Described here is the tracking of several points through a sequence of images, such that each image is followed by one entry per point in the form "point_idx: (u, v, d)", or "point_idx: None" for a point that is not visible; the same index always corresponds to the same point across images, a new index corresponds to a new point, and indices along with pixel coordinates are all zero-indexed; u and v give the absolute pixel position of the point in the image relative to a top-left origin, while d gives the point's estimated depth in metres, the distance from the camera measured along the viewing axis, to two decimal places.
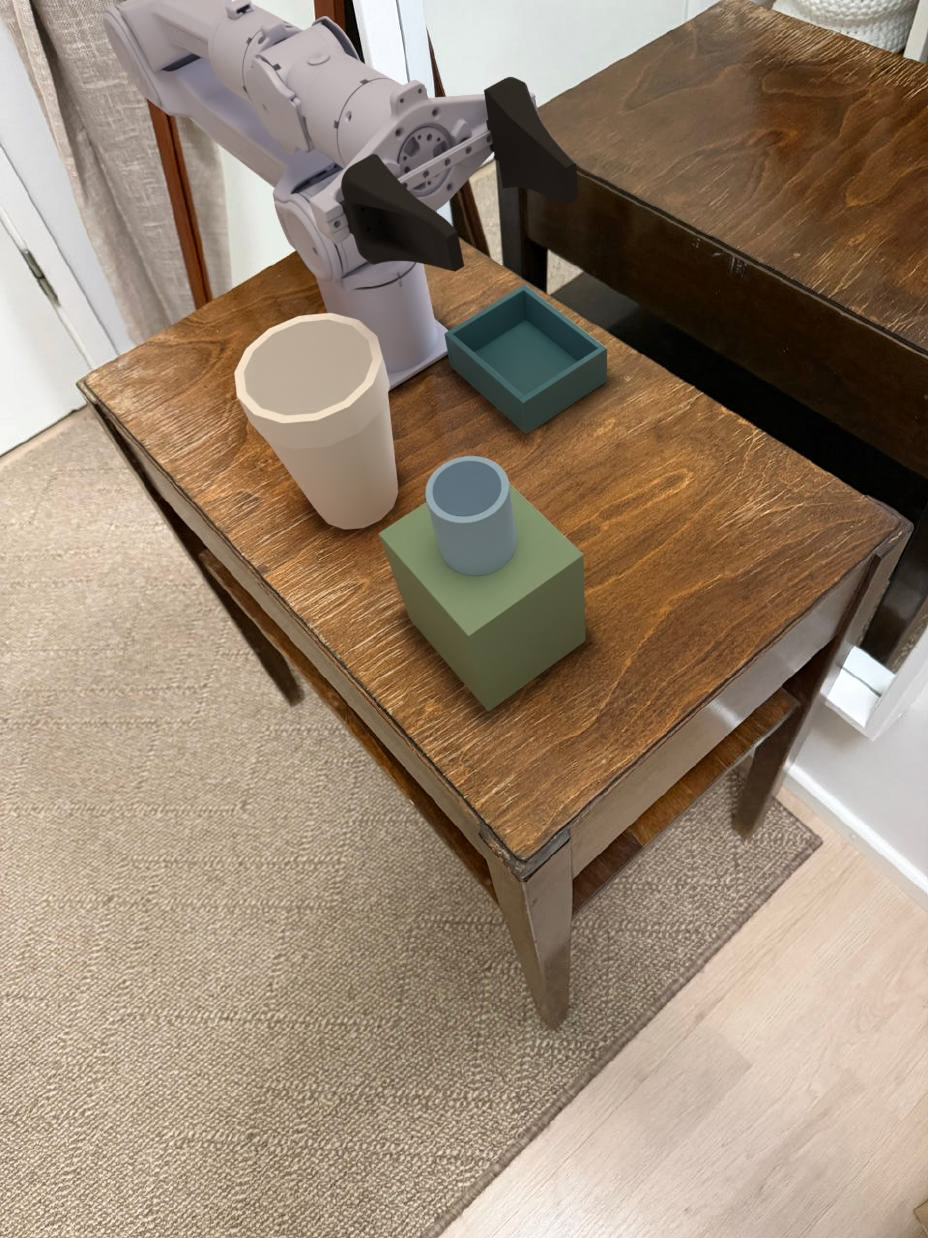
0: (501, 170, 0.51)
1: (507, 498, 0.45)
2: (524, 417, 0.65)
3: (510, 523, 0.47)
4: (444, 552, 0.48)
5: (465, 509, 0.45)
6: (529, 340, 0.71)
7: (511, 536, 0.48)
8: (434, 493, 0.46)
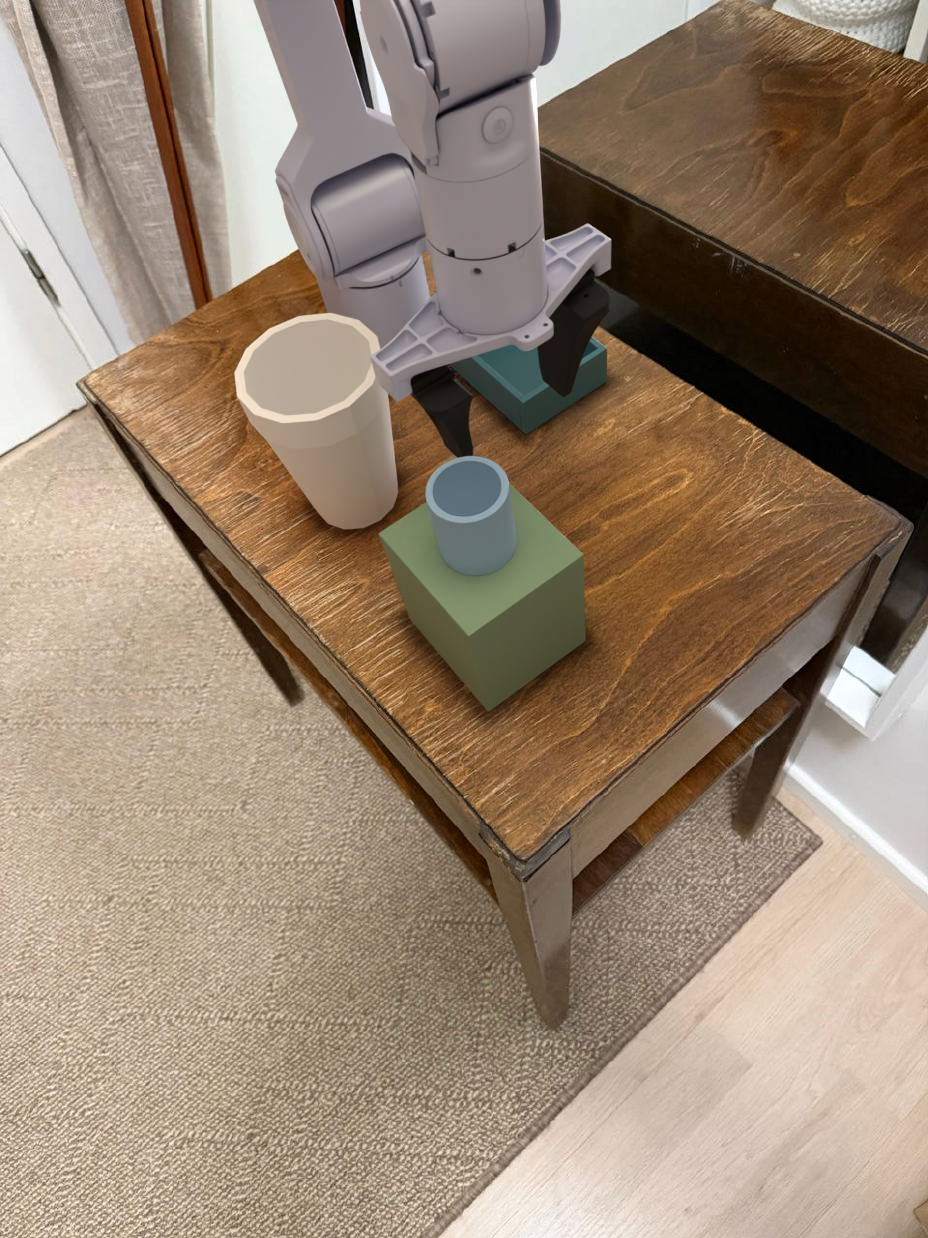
0: None
1: (507, 498, 0.45)
2: (524, 417, 0.65)
3: (510, 523, 0.47)
4: (444, 552, 0.48)
5: (465, 509, 0.45)
6: None
7: (511, 536, 0.48)
8: (434, 493, 0.46)
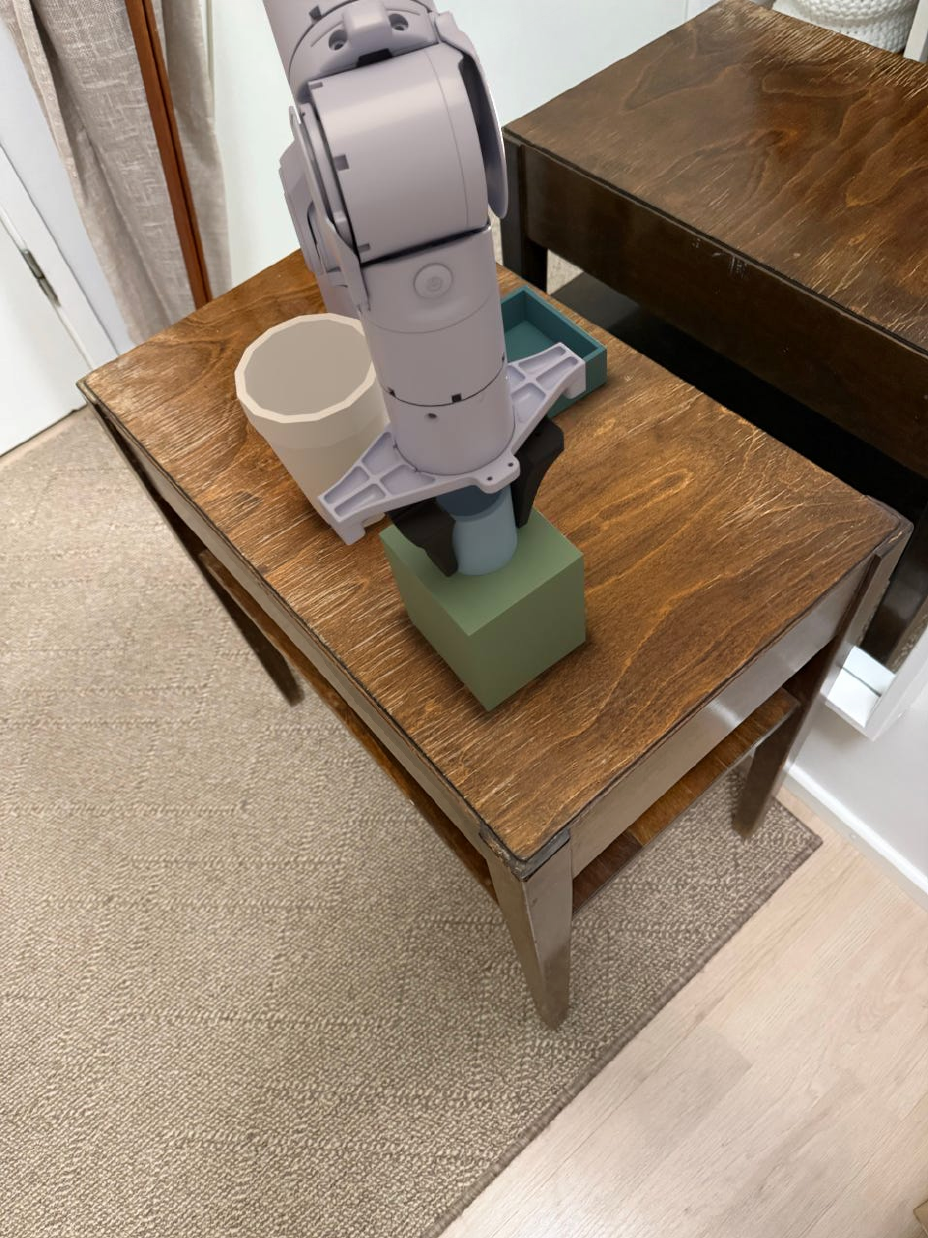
0: None
1: (508, 498, 0.45)
2: None
3: (511, 523, 0.47)
4: None
5: (466, 509, 0.45)
6: (529, 340, 0.71)
7: (512, 536, 0.48)
8: None
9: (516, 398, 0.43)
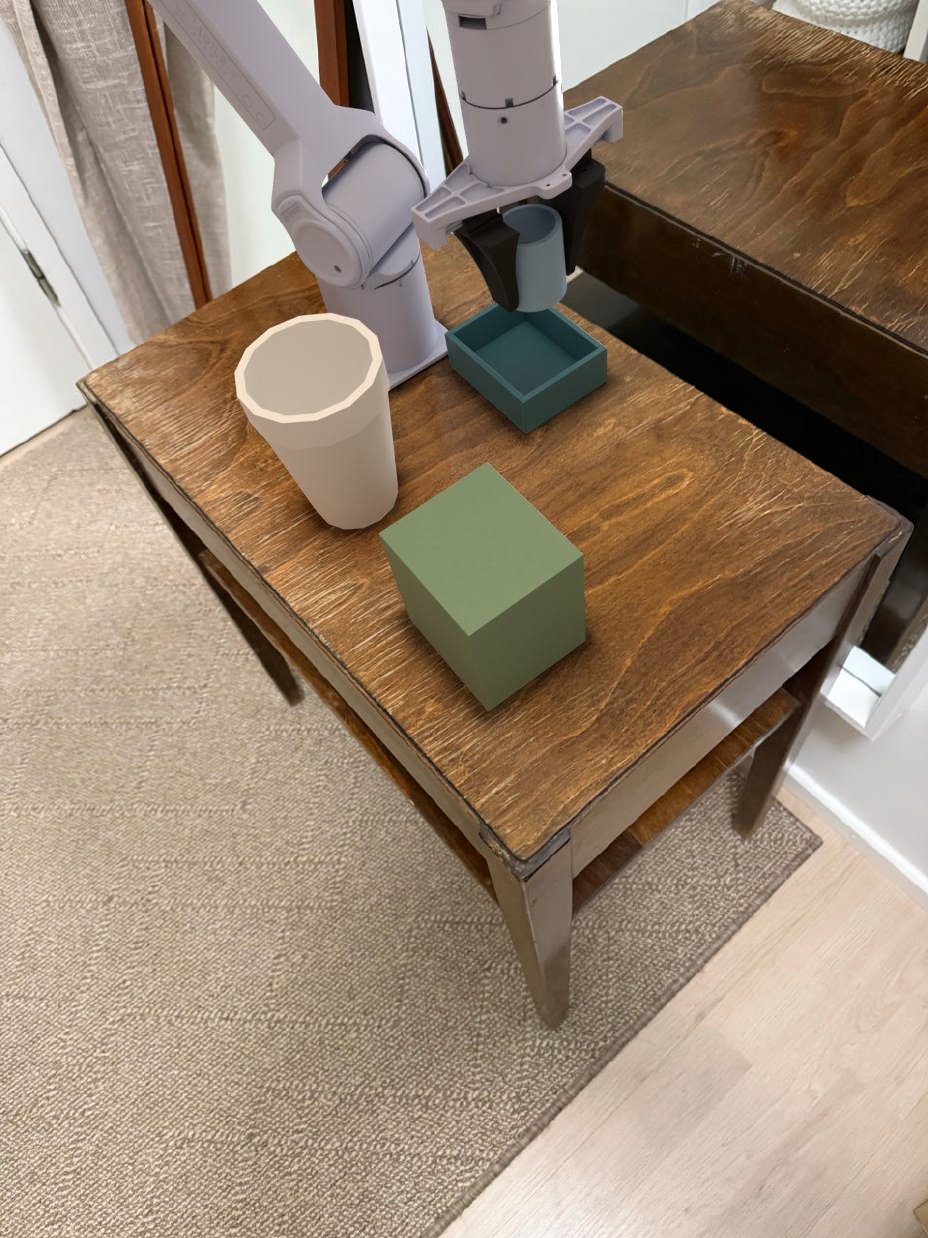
0: None
1: (560, 230, 0.55)
2: (524, 417, 0.65)
3: (562, 259, 0.57)
4: None
5: (526, 238, 0.55)
6: (529, 340, 0.71)
7: (563, 274, 0.58)
8: None
9: (567, 136, 0.53)
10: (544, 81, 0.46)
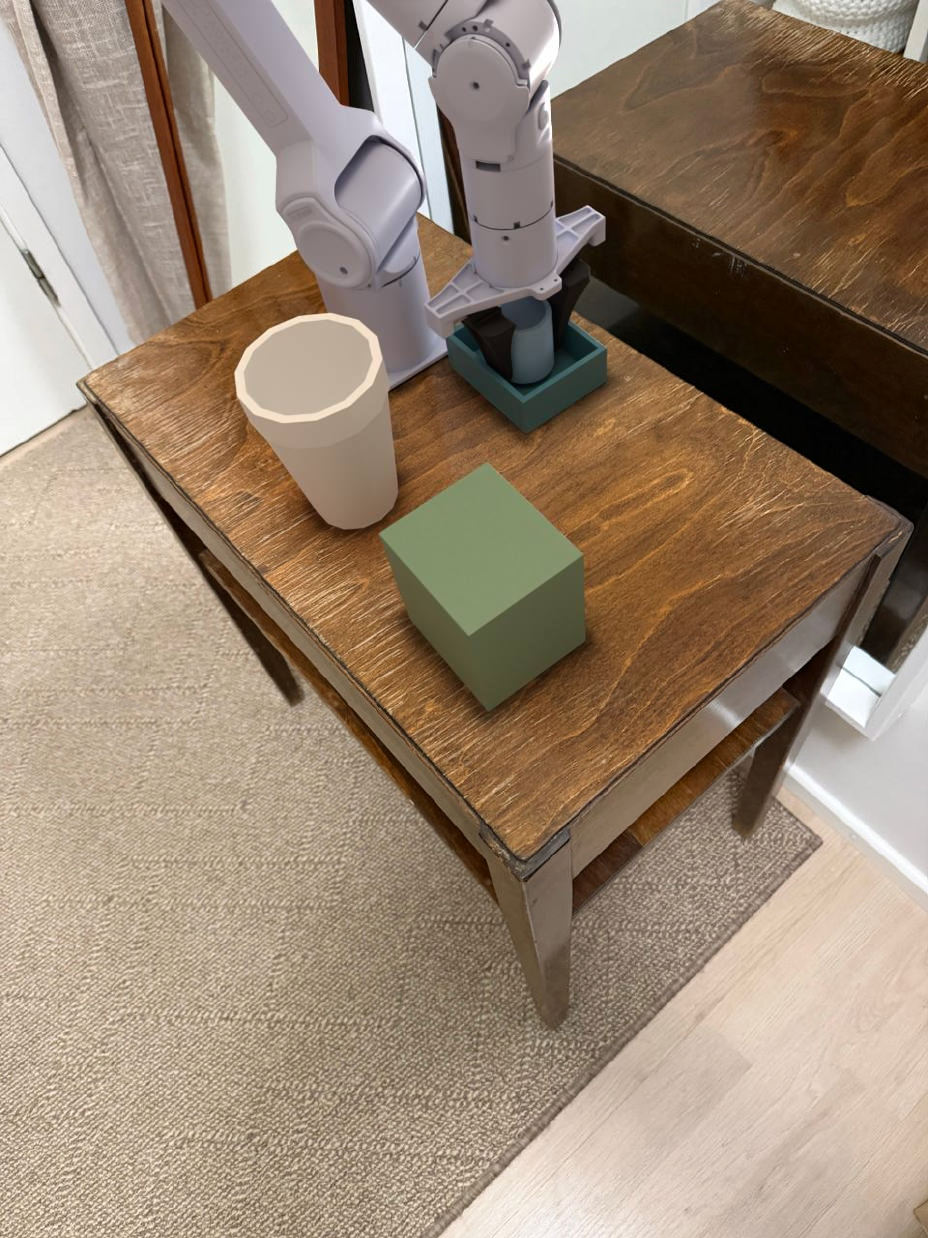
0: None
1: (550, 318, 0.64)
2: (524, 417, 0.65)
3: (551, 341, 0.66)
4: None
5: (521, 325, 0.64)
6: None
7: (551, 352, 0.67)
8: None
9: (557, 241, 0.62)
10: (545, 206, 0.55)
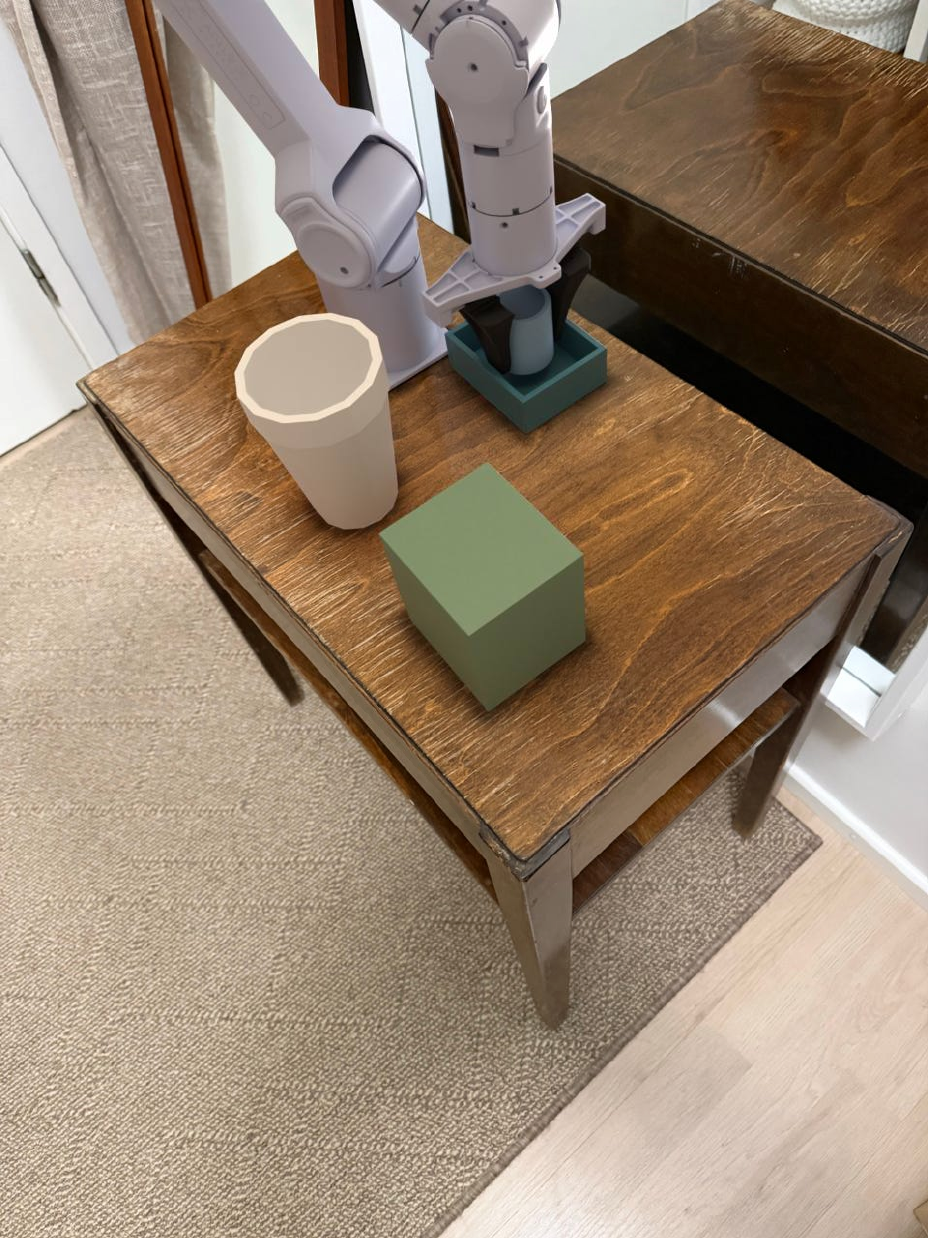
0: None
1: (549, 308, 0.63)
2: (524, 417, 0.65)
3: (550, 331, 0.65)
4: None
5: (519, 315, 0.63)
6: None
7: (550, 343, 0.66)
8: None
9: (557, 229, 0.61)
10: (544, 192, 0.54)
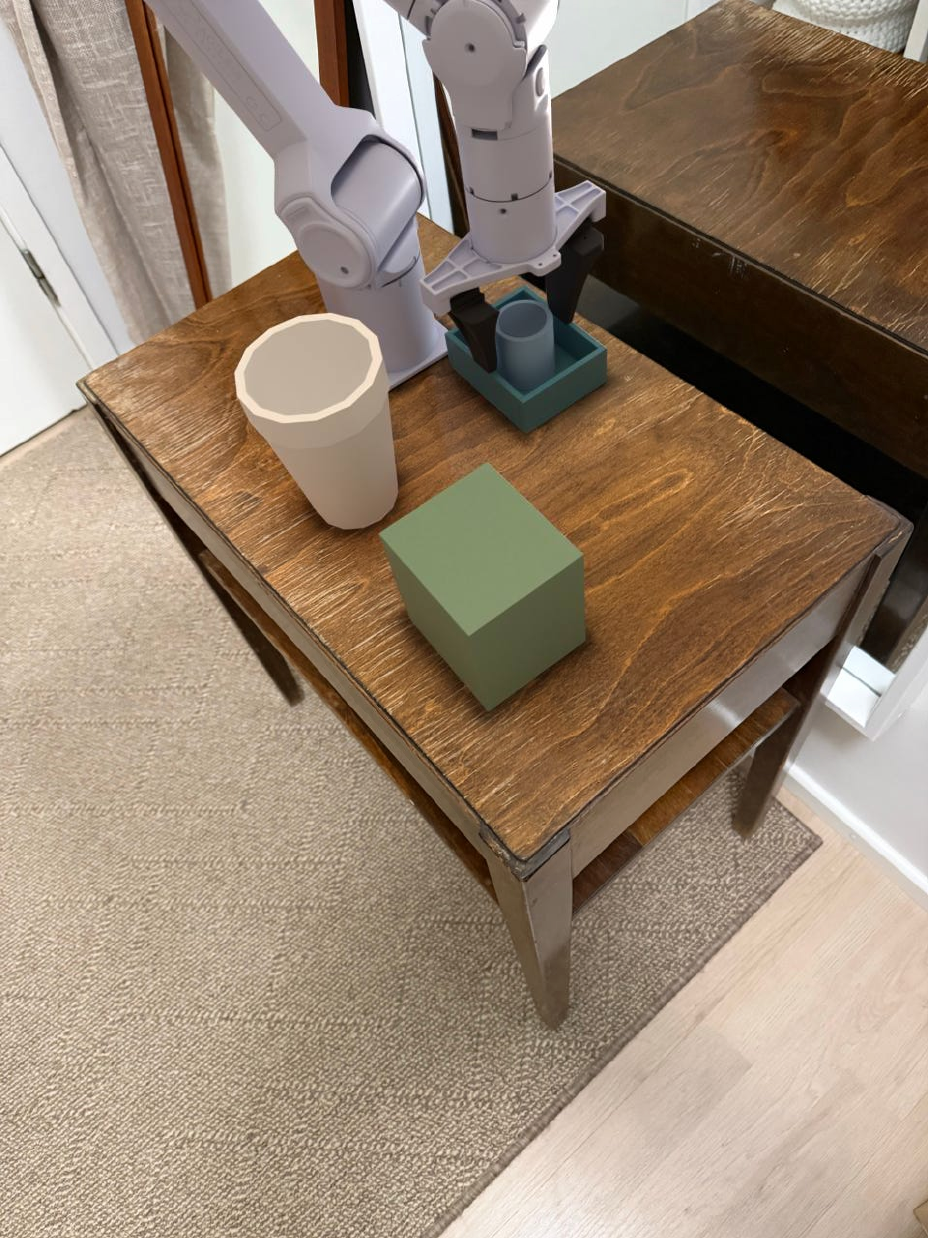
0: None
1: (551, 325, 0.65)
2: (524, 417, 0.65)
3: (552, 348, 0.67)
4: (504, 372, 0.68)
5: (522, 332, 0.65)
6: None
7: (552, 359, 0.67)
8: (500, 323, 0.65)
9: (557, 217, 0.60)
10: (543, 177, 0.54)
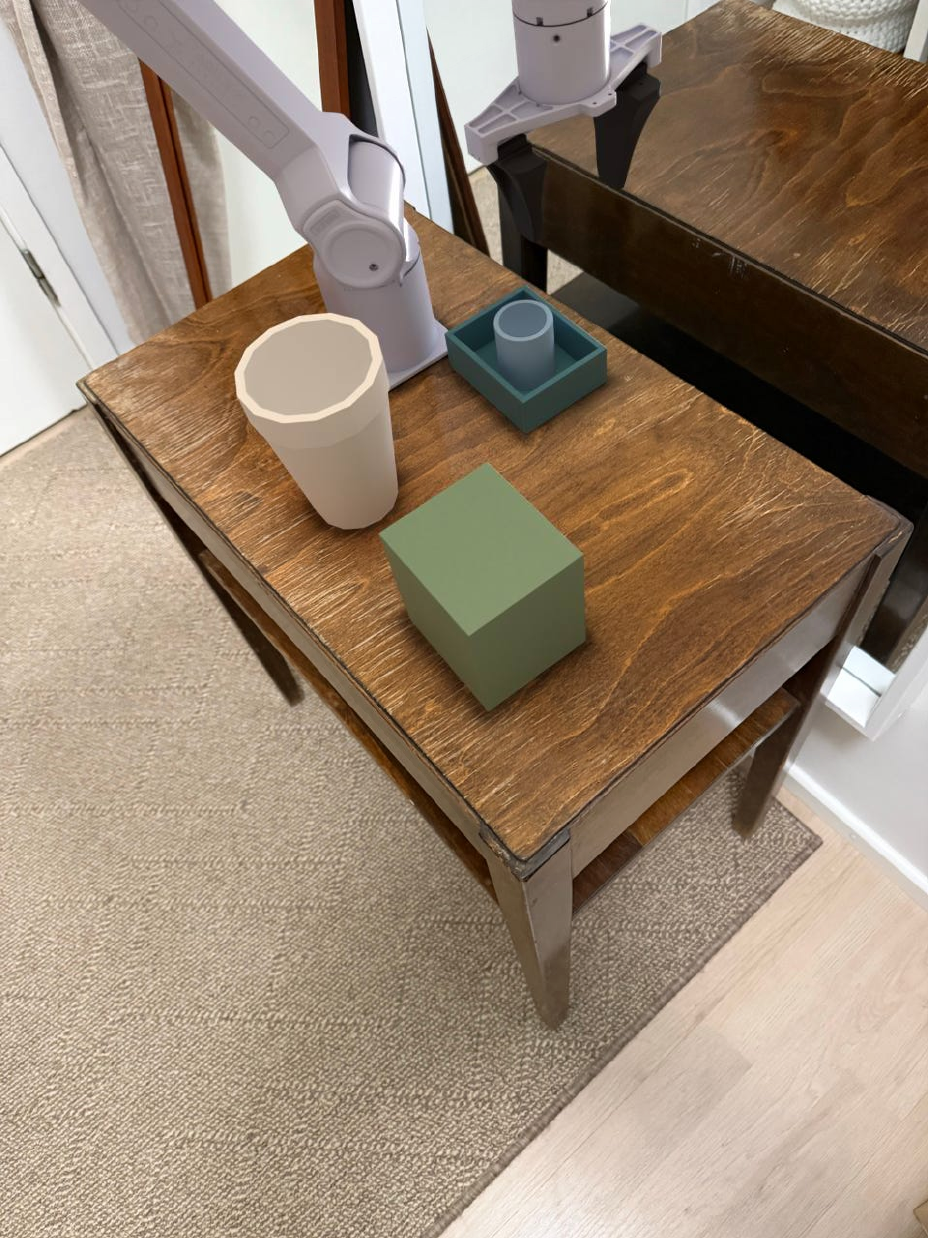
0: None
1: (551, 325, 0.65)
2: (524, 417, 0.65)
3: (552, 348, 0.67)
4: (504, 372, 0.68)
5: (522, 332, 0.65)
6: None
7: (552, 359, 0.67)
8: (500, 323, 0.65)
9: (610, 59, 0.56)
10: None
